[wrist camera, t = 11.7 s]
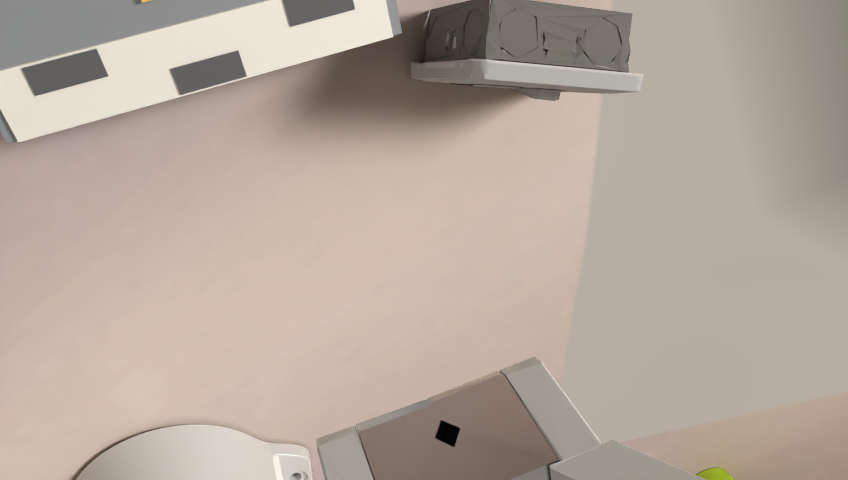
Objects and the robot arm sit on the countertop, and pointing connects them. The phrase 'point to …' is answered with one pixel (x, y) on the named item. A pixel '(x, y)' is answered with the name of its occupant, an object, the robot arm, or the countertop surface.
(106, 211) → the countertop surface
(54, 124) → the switch unit
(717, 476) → the soap dispenser
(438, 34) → the electrical switch
